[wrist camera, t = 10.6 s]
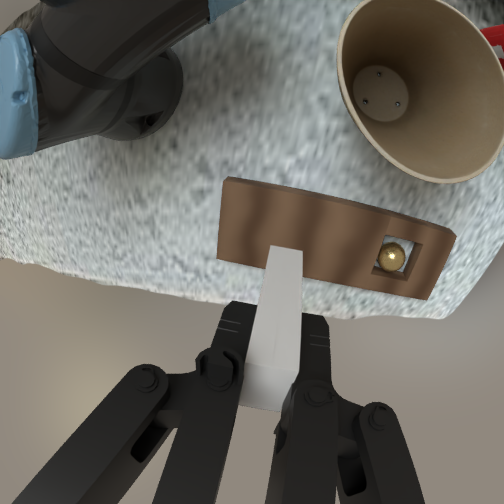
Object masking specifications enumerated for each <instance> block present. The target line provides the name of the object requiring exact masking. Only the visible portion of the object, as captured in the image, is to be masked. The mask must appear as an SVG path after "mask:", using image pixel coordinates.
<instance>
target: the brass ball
mask: <svg viewBox="0 0 504 504" xmlns="http://www.w3.org/2000/svg"><path fill="white" fill-rule="evenodd" d="M377 259H378V263H379V265H380V266H381V267H382V268H383V269H384V270H386V271H389V272H394V271H397V270H399V269H400V268H401V267H402V266H403V264H404V262H405V251H404V249H403V248H402V246H401V245H400V244H398V243H396V242H387V243H385V244H383V245H382V246H381V248H380V251H379V254H378V256H377Z"/></svg>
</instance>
